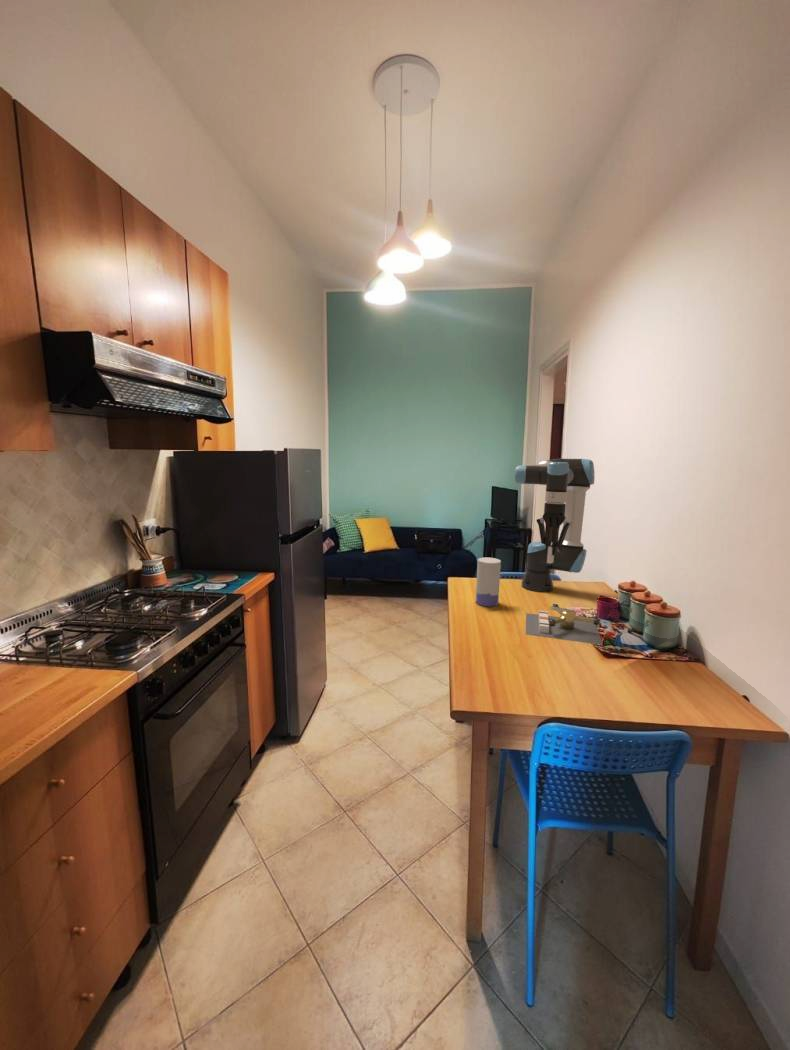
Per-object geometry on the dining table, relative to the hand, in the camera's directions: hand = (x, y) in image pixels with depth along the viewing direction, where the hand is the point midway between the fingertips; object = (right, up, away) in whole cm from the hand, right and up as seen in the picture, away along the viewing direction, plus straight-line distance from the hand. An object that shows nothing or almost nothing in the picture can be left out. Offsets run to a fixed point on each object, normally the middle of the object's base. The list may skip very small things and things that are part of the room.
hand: (550, 562), depth 166 cm
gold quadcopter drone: (+7, -24, -4) cm, 26 cm away
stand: (+3, -26, -3) cm, 26 cm away
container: (-19, -21, +25) cm, 38 cm away
